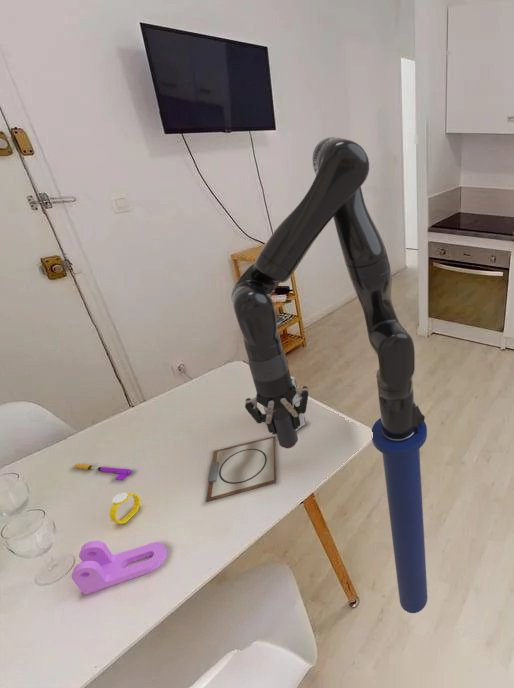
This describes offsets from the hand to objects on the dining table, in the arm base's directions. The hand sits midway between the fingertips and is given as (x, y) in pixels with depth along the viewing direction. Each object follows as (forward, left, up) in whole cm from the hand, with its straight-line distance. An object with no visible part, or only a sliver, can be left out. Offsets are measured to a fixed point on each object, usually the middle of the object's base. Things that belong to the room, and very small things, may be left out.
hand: (285, 429), depth 96 cm
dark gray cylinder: (0, 0, -5) cm, 5 cm away
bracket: (+32, +16, -11) cm, 37 cm away
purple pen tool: (+45, -14, -11) cm, 49 cm away
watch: (+35, +3, -11) cm, 37 cm away
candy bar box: (+1, -16, -11) cm, 20 cm away
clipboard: (+12, -3, -11) cm, 17 cm away
